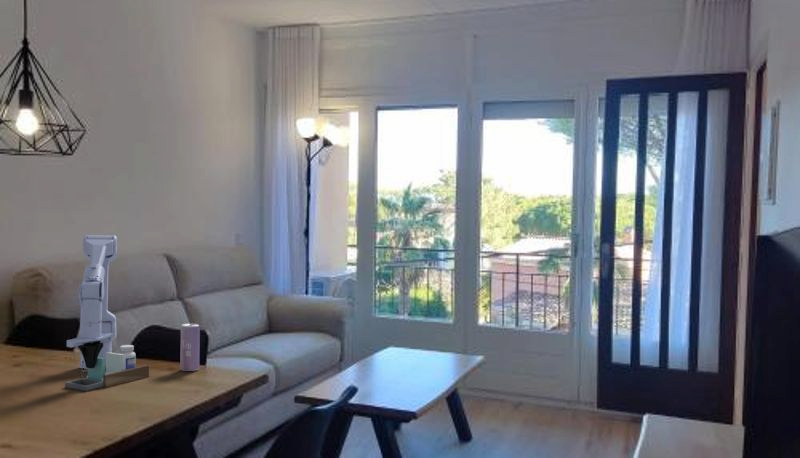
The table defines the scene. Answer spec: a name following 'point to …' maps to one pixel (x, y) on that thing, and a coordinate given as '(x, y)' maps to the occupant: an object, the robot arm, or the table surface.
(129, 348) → the pill bottle
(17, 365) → the table surface
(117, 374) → the channel
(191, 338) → the beverage can
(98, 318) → the robot arm
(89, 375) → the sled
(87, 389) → the tray
